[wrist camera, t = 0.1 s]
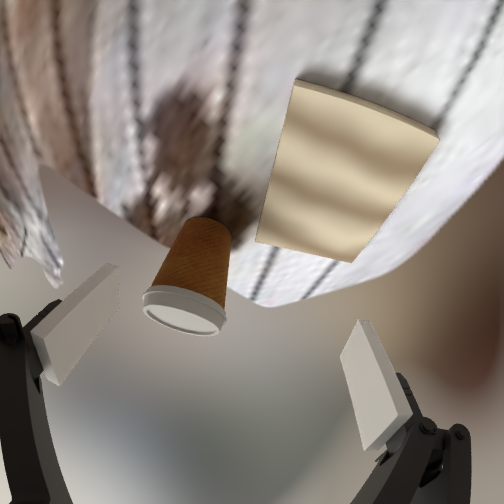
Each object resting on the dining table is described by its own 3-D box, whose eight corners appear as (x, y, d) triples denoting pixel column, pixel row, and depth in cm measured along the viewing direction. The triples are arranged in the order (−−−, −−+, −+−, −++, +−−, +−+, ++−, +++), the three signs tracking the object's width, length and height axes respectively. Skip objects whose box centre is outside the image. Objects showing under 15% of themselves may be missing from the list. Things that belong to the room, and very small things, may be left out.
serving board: (295, 78, 17) (294, 85, 16) (434, 130, 17) (439, 139, 16) (256, 231, 33) (254, 241, 32) (351, 252, 33) (351, 263, 32)
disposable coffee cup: (220, 199, 29) (188, 302, 23) (256, 249, 36) (239, 339, 30) (157, 216, 34) (121, 302, 27) (198, 257, 40) (175, 335, 34)
